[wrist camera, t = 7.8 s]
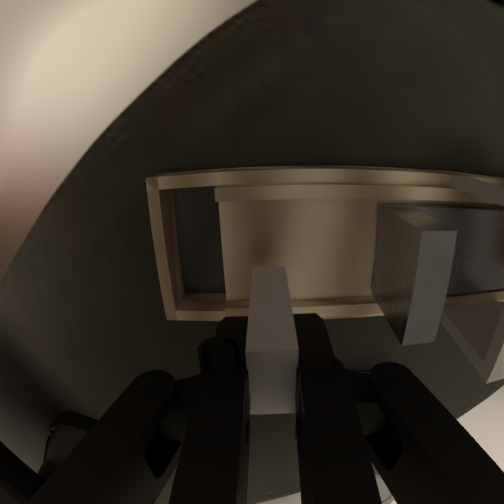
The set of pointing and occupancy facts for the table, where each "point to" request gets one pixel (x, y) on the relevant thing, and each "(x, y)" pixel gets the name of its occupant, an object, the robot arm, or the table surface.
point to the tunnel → (479, 306)
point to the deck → (285, 234)
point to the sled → (433, 262)
